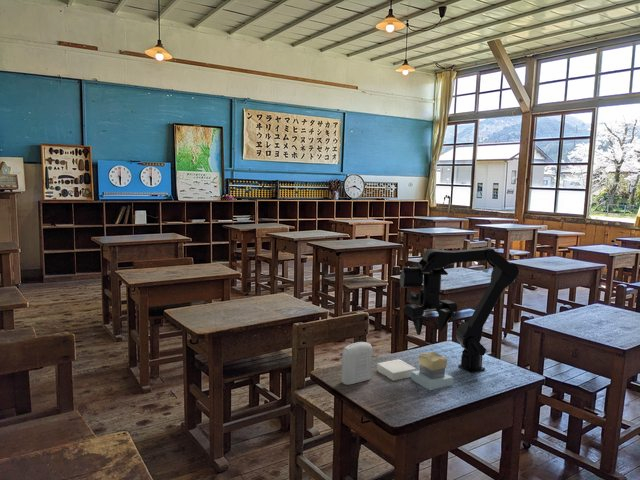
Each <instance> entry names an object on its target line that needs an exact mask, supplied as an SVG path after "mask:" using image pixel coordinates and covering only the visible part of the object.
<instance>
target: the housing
mask: <svg viewBox="0 0 640 480" xmlns="http://www.w3.org/2000/svg"><path fill="white" fill-rule="evenodd" d="M447 360H448V358H447V357H445V356H443V355H440V354H438V353H436V352H435V351H429V352H424V353H418V364H419V370H420V373H421V374H423V375H425V376H427V377H429V378H430V379H436V378H441V377H445V374H446V368H447V365H448V364H447V363H448V361H447Z"/></svg>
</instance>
